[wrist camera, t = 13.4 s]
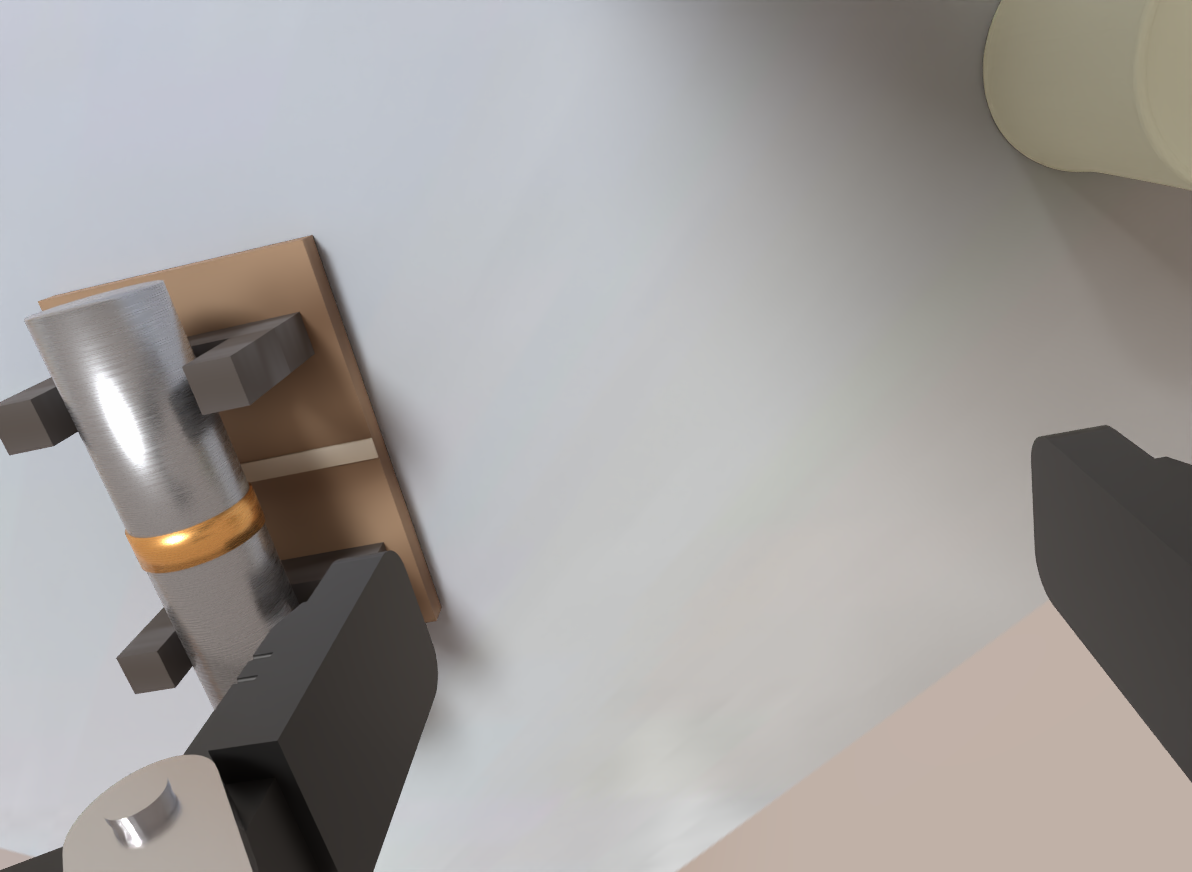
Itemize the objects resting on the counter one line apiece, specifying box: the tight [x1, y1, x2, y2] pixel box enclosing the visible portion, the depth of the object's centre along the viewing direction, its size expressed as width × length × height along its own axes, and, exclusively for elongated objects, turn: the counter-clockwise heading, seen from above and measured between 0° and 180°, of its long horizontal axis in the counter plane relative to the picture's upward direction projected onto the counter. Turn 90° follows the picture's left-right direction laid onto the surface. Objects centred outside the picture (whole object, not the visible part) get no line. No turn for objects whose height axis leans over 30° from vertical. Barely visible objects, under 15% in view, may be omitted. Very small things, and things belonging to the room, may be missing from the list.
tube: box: [24, 280, 299, 710], centre depth 36 cm, size 20×5×5 cm, turn 13°
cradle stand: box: [0, 235, 442, 694], centre depth 39 cm, size 20×13×8 cm, turn 13°
